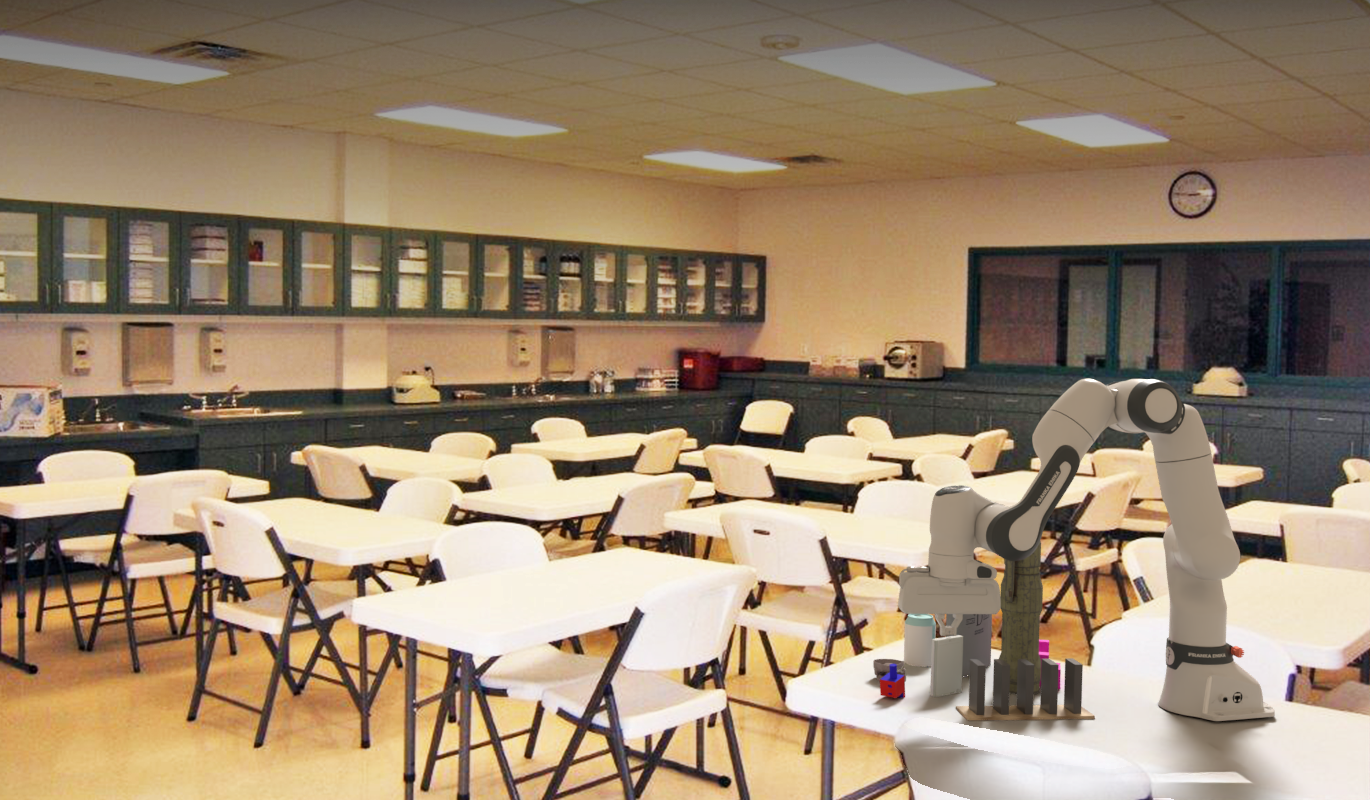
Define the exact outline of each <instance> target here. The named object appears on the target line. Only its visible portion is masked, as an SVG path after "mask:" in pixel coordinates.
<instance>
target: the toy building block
mask: <svg viewBox="0 0 1370 800" xmlns="http://www.w3.org/2000/svg"><path fill="white" fill-rule="evenodd" d="M889 667H890V673H888V674H886V675H885V676H884V677H882V678H881V679H880V681H879V687H880V688H879V692H880V696H883V697H887V698H894V699H897V698H900V699H901V698H902V699H904V698H906V685H905V684H906V683H905V682H906V681H905V678H904V675H899V674H897V671H898V670H897V665H896V664H890V665H889Z"/></svg>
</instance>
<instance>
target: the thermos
mask: <svg viewBox="0 0 1370 800" xmlns="http://www.w3.org/2000/svg"><path fill="white" fill-rule="evenodd" d="M1041 557H1042V542H1041V540H1040V543H1039V545H1038V547H1037V548H1036V550H1035V551H1034V552H1033V553H1032V554H1031V555H1030V556H1029V557H1027V558H1025V559H1023V560H1019V561H1010V560H1006V559H1004V558H1003V559H1004V560H1003V564H1004V571H1003V578H1002V580H1001V583H1000V599H1001V606H1000V611H1001V615H1002V616H1001V645H1000V646H1001V650H1000V651H1001V653H1000V655H999V656H998V659H1002V660H1003V661H1005V662H1006V663H1008V664H1009V665H1010V687H1009V694H1010V695H1011V694H1012V695H1017V668H1018V659H1026V660H1028V661H1029V662H1031V663H1032V664H1034V694H1033V696H1035V695H1037V694H1039V693H1040V692H1041V687H1039V683H1040V680H1041V659H1040V656H1039V640H1040V626H1041V625H1040V623H1041V622H1040V620H1041V617H1040V616H1041V613H1042V612H1043V598H1044V596H1043V594H1044V585H1043V582H1042V579H1041V571H1040V569H1041V568H1040V567H1041V564H1042V562H1041V560H1042V558H1041Z"/></svg>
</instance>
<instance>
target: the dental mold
mask: <svg viewBox="0 0 1370 800" xmlns="http://www.w3.org/2000/svg"><path fill="white" fill-rule="evenodd" d="M890 664H896V665H897V674H899V675H904V678H905V682H906V681H907V675H906V667H904V665H905V662H904V660H899V659H895V658H877V659H874V660H873V665H872V667H873V670H874V676H875V677H876V681H878V682H880V679H881V678H882V677H884V676H885V675H886V674H888V673H890V667H889V665H890ZM903 667H904V668H903ZM901 669H902V670H901Z"/></svg>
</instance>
